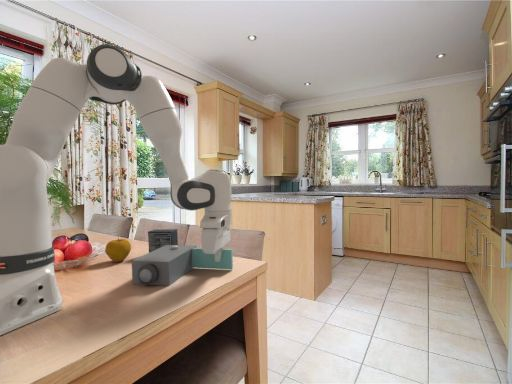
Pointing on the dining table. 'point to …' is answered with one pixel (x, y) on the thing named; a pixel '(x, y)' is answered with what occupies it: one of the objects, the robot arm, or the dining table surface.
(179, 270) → the block
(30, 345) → the dining table surface
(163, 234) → the small box
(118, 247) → the apple
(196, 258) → the side door
